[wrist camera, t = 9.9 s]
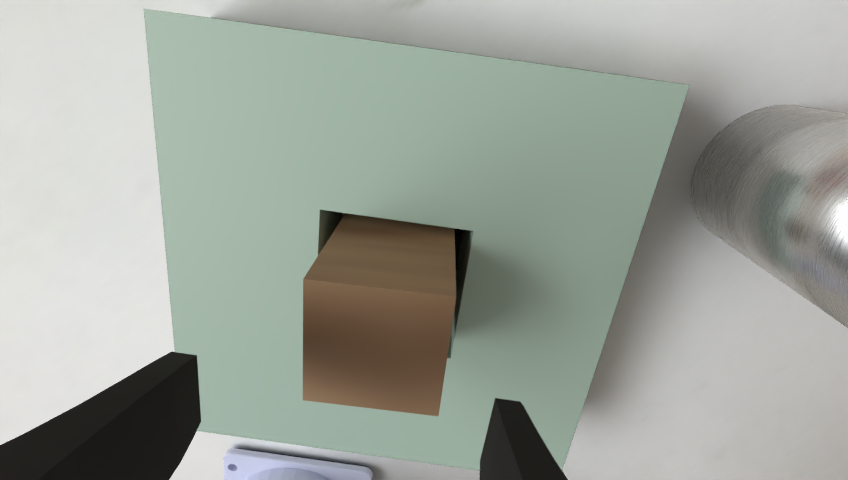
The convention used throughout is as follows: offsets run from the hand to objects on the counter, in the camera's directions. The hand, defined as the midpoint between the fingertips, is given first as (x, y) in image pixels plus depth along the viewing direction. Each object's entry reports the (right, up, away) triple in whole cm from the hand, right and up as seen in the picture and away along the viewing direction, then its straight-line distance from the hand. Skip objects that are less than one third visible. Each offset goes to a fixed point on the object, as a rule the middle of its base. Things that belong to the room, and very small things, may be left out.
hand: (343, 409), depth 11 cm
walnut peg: (+1, +4, +9) cm, 10 cm away
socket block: (+1, +4, +9) cm, 10 cm away
